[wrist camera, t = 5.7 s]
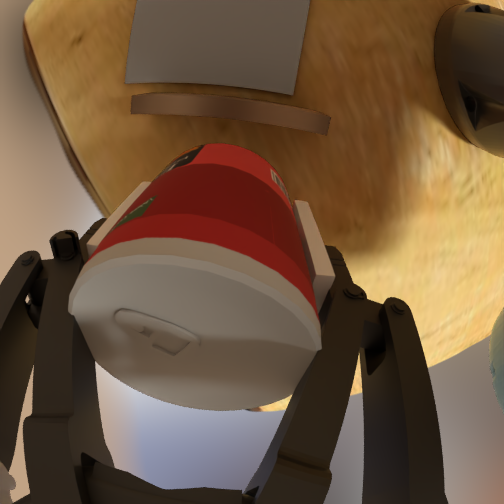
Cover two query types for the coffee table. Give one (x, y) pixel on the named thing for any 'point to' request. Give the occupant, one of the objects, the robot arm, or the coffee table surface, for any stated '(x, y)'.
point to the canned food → (203, 287)
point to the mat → (218, 42)
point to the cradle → (231, 110)
